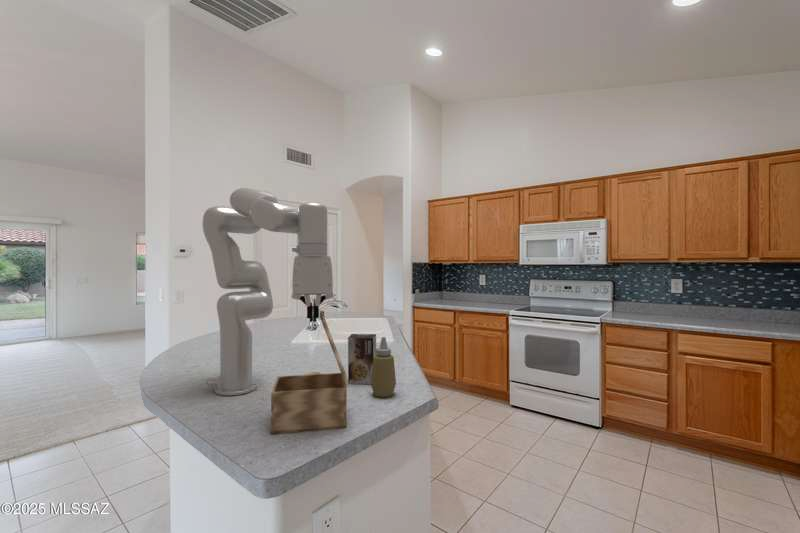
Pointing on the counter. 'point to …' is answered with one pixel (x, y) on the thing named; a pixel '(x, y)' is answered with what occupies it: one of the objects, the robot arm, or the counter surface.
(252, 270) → the robot arm
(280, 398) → the carton
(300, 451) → the counter surface
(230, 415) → the counter surface
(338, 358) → the carton flap
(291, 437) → the counter surface
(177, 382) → the counter surface
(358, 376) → the grey upright box
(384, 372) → the squeeze bottle
